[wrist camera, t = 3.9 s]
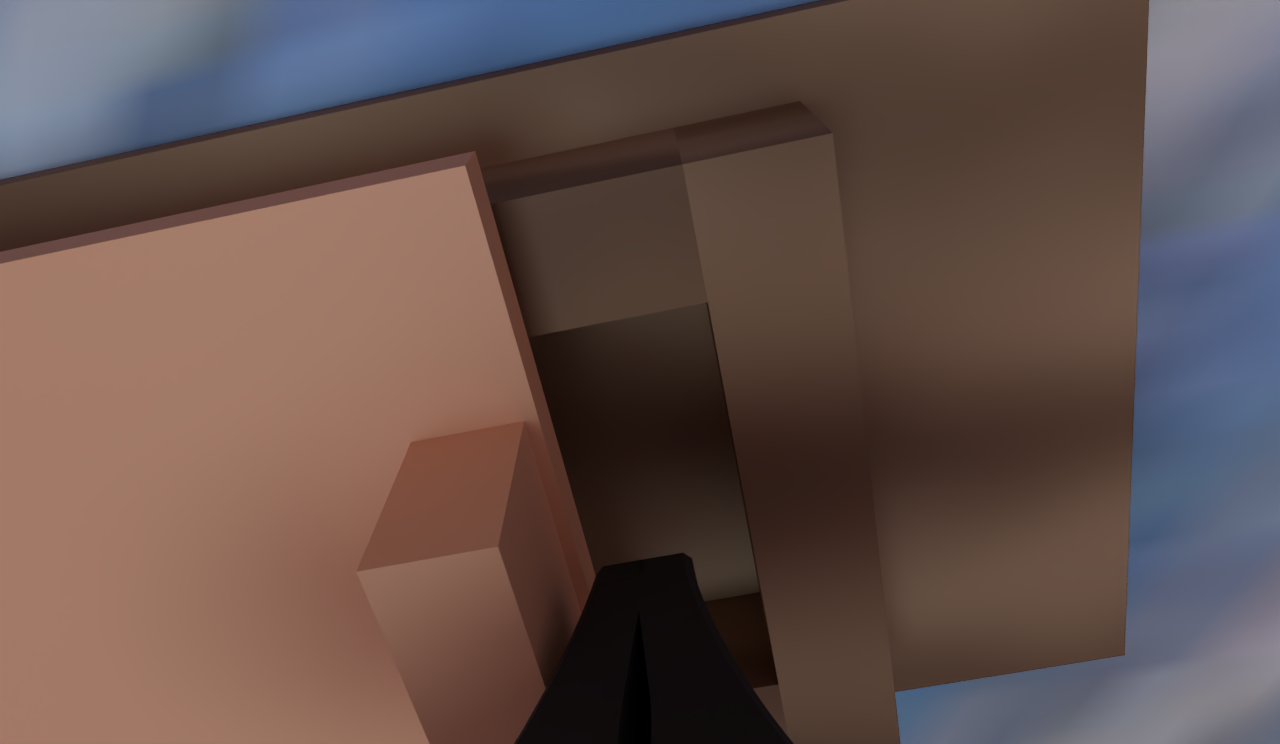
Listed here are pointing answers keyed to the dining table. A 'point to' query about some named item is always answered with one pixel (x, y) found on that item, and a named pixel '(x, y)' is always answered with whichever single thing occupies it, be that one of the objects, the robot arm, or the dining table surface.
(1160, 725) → the dining table surface
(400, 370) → the panel
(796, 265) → the socket
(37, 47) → the dining table surface
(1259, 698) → the dining table surface
